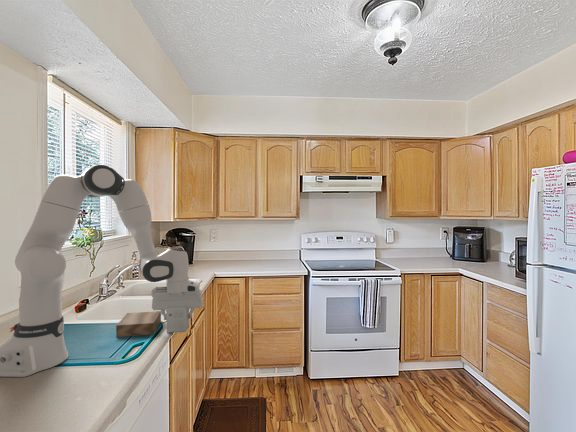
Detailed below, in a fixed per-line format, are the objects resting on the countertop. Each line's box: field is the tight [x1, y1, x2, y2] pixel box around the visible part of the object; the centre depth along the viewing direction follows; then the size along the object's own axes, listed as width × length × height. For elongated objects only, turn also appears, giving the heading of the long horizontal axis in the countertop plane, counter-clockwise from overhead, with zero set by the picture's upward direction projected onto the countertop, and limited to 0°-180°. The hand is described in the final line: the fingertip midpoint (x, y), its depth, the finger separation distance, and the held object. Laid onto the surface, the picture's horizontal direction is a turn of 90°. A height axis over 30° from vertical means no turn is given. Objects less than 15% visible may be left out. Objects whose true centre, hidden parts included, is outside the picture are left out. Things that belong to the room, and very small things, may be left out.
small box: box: [165, 306, 190, 334], centre depth 130 cm, size 8×6×10 cm
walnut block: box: [115, 310, 162, 338], centre depth 131 cm, size 14×14×5 cm
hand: (178, 318), depth 130 cm, fingers closed on small box, 8 cm apart
